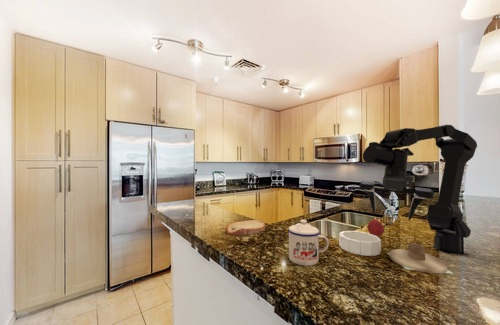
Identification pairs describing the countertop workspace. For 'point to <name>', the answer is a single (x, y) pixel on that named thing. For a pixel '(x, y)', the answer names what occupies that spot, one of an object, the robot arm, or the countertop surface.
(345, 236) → the bowl
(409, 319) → the countertop surface
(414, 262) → the lid
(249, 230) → the bread slice
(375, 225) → the onion
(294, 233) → the teacup with lid
